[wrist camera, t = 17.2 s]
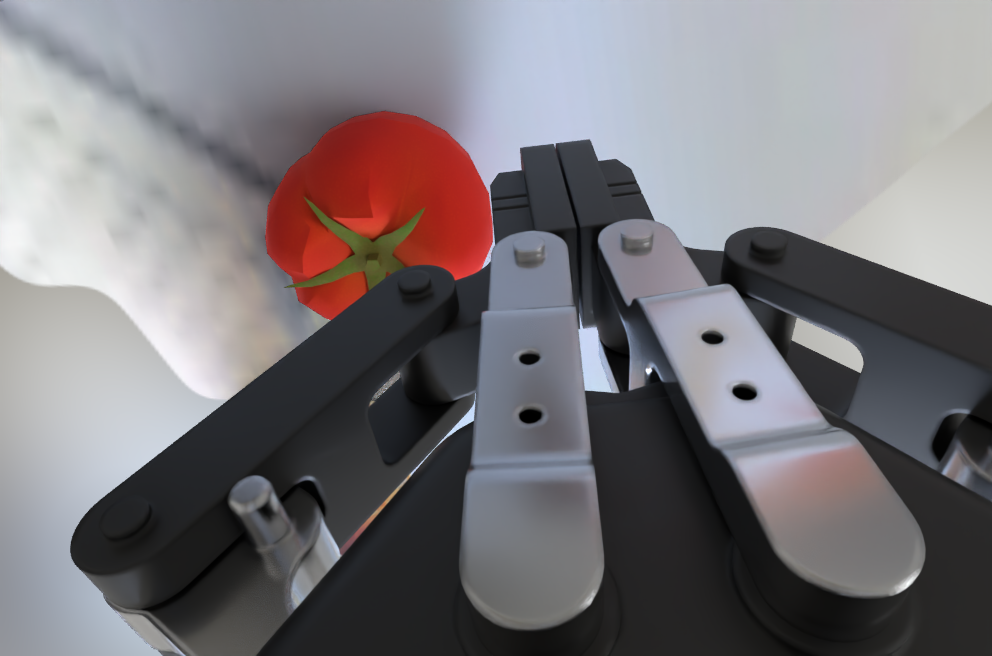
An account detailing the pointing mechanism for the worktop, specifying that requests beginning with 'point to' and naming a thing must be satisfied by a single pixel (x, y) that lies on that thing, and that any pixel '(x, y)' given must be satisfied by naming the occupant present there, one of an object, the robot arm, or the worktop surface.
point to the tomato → (377, 209)
